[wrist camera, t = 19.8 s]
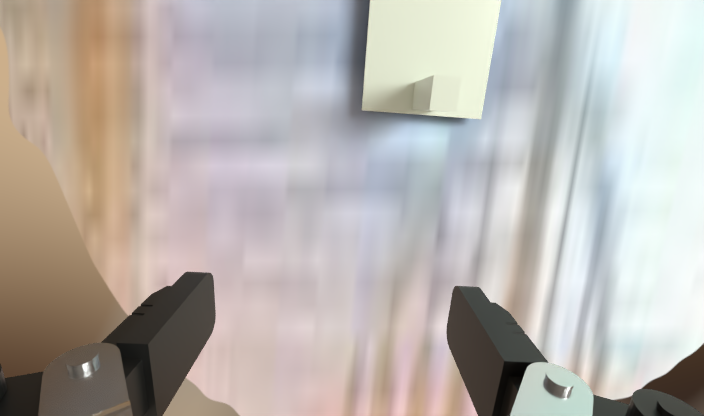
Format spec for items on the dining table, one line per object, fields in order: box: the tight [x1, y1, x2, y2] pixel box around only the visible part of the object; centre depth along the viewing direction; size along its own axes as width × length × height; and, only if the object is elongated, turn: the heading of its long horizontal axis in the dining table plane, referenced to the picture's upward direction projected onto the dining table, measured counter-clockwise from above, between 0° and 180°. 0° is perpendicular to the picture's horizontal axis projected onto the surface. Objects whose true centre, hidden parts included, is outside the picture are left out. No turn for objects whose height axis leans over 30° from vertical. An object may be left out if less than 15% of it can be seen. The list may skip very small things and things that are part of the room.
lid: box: [362, 0, 501, 119], centre depth 34 cm, size 19×14×11 cm
